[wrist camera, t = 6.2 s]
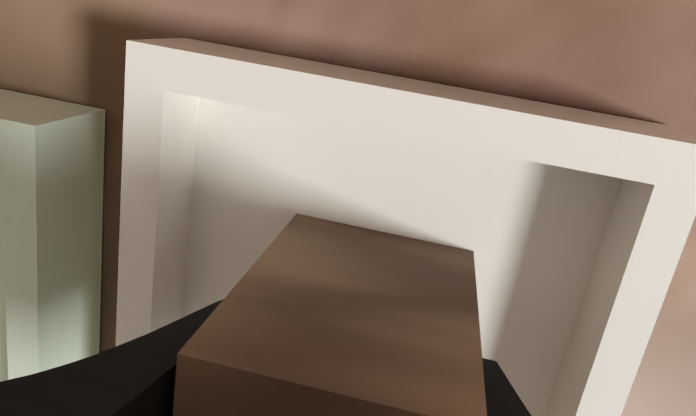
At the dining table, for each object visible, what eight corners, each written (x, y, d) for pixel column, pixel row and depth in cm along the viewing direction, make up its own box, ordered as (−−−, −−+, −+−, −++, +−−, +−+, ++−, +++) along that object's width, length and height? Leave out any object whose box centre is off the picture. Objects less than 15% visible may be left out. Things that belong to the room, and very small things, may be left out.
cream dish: (668, 124, 12) (720, 148, 10) (534, 518, 15) (548, 606, 13) (184, 37, 13) (126, 40, 11) (159, 419, 17) (110, 485, 14)
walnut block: (473, 251, 13) (488, 430, 7) (435, 402, 14) (422, 658, 8) (296, 213, 13) (177, 353, 7) (275, 363, 14) (160, 580, 9)
